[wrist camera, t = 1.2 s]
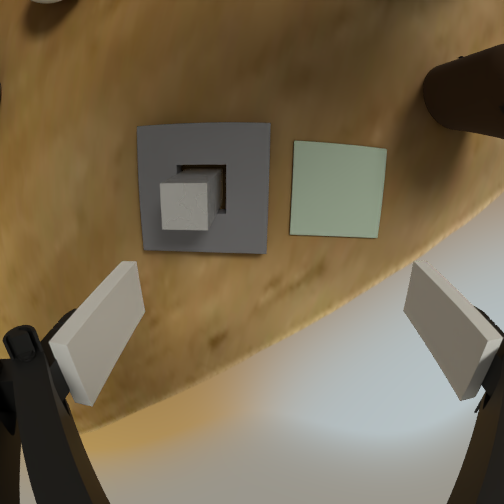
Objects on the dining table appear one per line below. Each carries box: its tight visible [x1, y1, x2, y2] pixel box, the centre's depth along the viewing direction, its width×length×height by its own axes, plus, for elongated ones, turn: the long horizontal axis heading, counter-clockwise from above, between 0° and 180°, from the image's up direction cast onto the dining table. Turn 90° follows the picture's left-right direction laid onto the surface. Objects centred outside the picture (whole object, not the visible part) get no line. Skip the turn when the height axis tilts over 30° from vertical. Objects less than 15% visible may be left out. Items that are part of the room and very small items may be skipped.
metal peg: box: [160, 168, 223, 230], centre depth 35 cm, size 4×4×12 cm
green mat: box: [290, 141, 387, 238], centre depth 39 cm, size 12×12×1 cm
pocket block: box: [137, 122, 271, 254], centre depth 39 cm, size 16×16×2 cm
